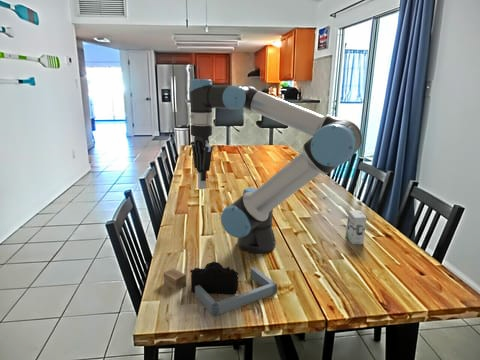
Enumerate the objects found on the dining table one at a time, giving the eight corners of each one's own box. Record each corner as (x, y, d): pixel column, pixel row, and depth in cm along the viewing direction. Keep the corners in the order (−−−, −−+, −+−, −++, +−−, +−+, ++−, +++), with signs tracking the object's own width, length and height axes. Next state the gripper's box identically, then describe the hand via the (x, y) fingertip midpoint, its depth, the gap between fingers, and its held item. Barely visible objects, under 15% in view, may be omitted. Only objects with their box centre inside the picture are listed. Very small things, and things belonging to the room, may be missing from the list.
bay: (254, 275, 119) (254, 267, 118) (276, 292, 110) (277, 284, 109) (195, 294, 108) (195, 286, 107) (214, 316, 98) (214, 307, 97)
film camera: (239, 279, 117) (239, 254, 114) (237, 296, 108) (237, 270, 105) (193, 277, 118) (193, 252, 115) (188, 294, 108) (187, 267, 106)
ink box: (345, 235, 152) (347, 209, 149) (356, 235, 152) (359, 209, 149) (351, 244, 144) (354, 217, 140) (363, 244, 144) (367, 217, 141)
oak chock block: (173, 279, 116) (173, 268, 115) (186, 285, 113) (185, 274, 112) (164, 284, 113) (163, 272, 112) (176, 291, 110) (175, 279, 109)
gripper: (183, 122, 128) (185, 185, 134) (200, 127, 117) (200, 194, 124) (202, 122, 132) (203, 182, 138) (219, 126, 121) (219, 191, 128)
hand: (201, 188), depth 131 cm, fingers closed
